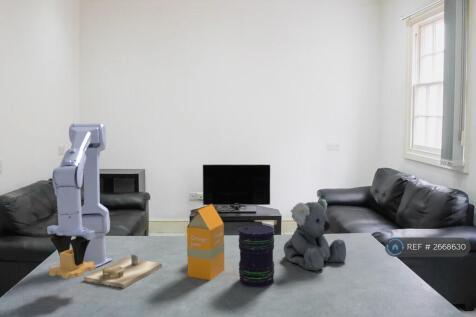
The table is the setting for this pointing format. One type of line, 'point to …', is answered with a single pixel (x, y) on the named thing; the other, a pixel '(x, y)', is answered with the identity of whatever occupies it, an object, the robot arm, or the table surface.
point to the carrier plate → (123, 272)
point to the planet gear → (70, 266)
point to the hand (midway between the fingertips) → (72, 263)
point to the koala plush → (312, 238)
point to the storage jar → (256, 255)
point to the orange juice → (205, 244)
